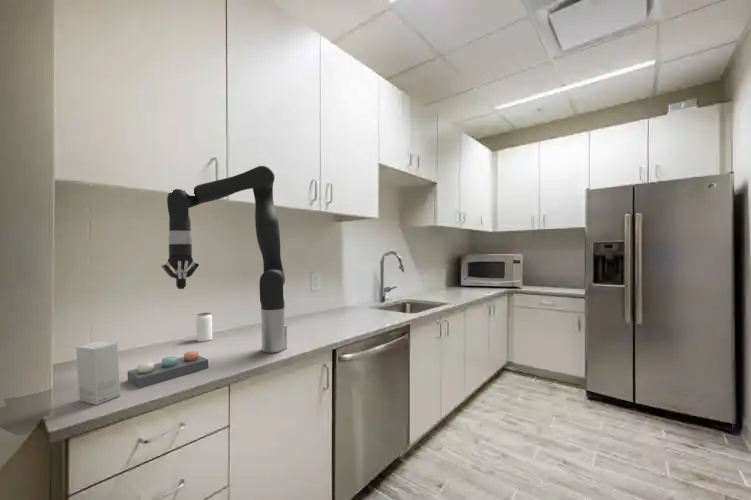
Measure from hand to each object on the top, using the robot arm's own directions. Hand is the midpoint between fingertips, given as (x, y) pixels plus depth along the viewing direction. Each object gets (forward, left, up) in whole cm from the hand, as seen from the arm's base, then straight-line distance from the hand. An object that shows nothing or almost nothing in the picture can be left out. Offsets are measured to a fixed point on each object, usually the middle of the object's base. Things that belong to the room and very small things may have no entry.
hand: (181, 288), depth 128 cm
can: (-18, -20, -27) cm, 38 cm away
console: (+9, +12, -27) cm, 31 cm away
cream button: (+16, +12, -24) cm, 31 cm away
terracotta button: (+2, +12, -24) cm, 27 cm away
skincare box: (+29, +16, -27) cm, 43 cm away
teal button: (+9, +12, -24) cm, 28 cm away
